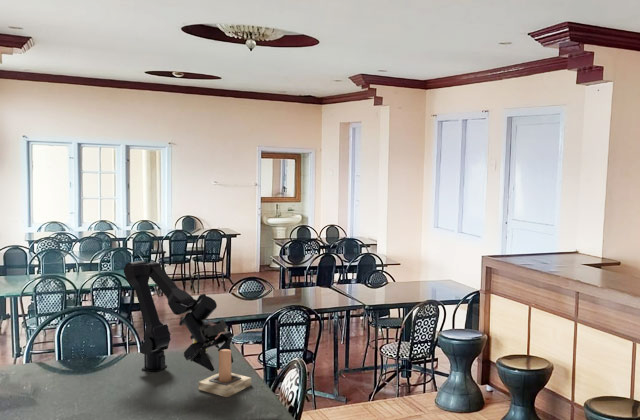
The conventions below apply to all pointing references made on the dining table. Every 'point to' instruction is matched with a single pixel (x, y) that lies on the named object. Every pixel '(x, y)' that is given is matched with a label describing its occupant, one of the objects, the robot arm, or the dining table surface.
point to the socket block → (225, 385)
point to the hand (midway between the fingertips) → (223, 366)
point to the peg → (225, 365)
